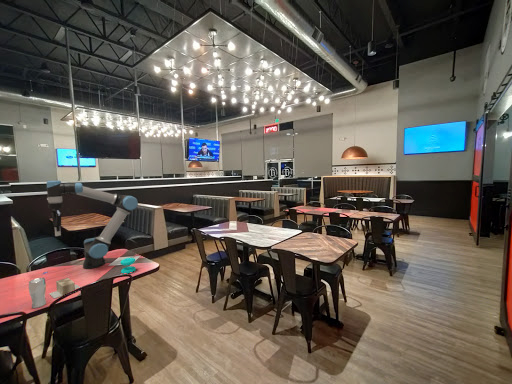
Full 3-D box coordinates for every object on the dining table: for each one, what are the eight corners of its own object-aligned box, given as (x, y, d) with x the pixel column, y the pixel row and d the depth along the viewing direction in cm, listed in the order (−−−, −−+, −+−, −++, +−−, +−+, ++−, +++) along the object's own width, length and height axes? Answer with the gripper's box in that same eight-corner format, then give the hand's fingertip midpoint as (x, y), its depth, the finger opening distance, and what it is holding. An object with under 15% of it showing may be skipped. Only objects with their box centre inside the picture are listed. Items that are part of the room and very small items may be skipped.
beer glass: (27, 307, 126) (25, 281, 125) (43, 300, 132) (41, 276, 131) (34, 310, 123) (32, 283, 122) (50, 303, 130) (48, 278, 129)
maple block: (67, 277, 148) (74, 282, 142) (68, 286, 149) (75, 291, 142) (56, 281, 143) (62, 286, 137) (56, 290, 144) (63, 295, 137)
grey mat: (76, 284, 152) (76, 284, 152) (82, 288, 146) (82, 288, 146) (49, 294, 140) (49, 293, 140) (54, 298, 135) (54, 298, 135)
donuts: (133, 261, 167) (118, 262, 164) (134, 273, 168) (119, 275, 165) (136, 256, 177) (122, 258, 174) (137, 268, 177) (122, 270, 174)
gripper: (45, 202, 156) (48, 235, 158) (51, 203, 149) (54, 238, 150) (59, 201, 162) (61, 233, 164) (65, 202, 155) (67, 235, 157)
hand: (58, 235), depth 157 cm, fingers closed
